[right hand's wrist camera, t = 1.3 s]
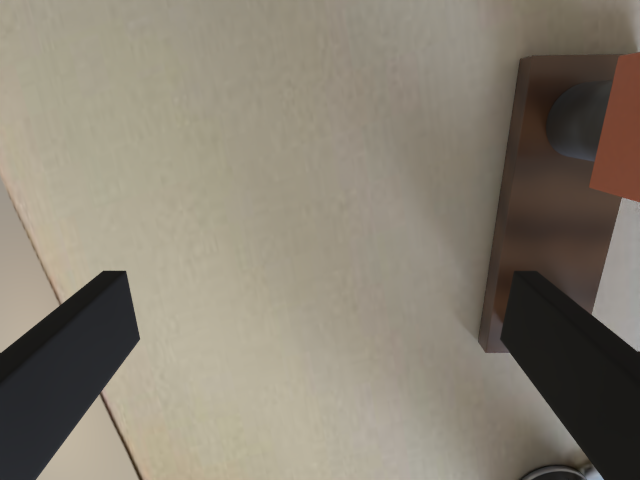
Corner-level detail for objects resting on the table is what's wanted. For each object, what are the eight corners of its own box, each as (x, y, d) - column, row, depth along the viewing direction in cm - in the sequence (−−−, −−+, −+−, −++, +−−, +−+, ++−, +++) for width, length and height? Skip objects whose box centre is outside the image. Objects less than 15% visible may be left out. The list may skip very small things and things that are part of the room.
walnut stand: (519, 58, 31) (631, 30, 20) (639, 57, 31) (818, 27, 20) (477, 341, 41) (538, 431, 29) (569, 341, 41) (665, 430, 29)
